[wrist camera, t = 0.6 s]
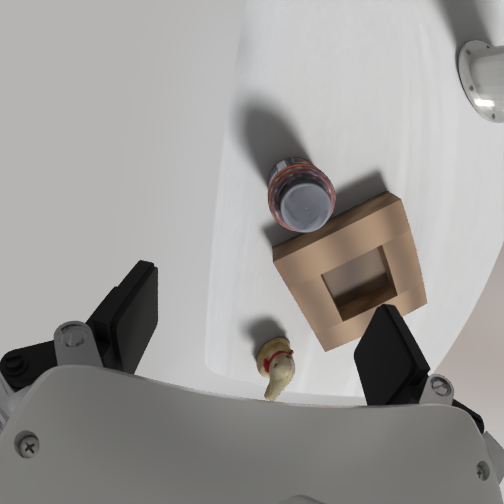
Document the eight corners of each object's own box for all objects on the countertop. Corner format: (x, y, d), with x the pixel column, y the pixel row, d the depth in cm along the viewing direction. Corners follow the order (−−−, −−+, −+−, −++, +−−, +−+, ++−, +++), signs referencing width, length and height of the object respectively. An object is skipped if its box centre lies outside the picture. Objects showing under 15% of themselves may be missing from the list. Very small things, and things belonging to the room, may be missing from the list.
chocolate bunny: (304, 350, 42) (310, 400, 33) (264, 370, 44) (263, 419, 35) (284, 330, 40) (287, 382, 31) (243, 352, 42) (238, 402, 33)
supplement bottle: (329, 173, 30) (359, 196, 20) (302, 215, 33) (318, 258, 22) (283, 146, 29) (293, 155, 19) (258, 191, 32) (254, 223, 21)
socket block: (387, 190, 31) (400, 199, 27) (415, 288, 36) (427, 303, 32) (272, 247, 35) (273, 262, 31) (321, 333, 40) (325, 351, 36)
